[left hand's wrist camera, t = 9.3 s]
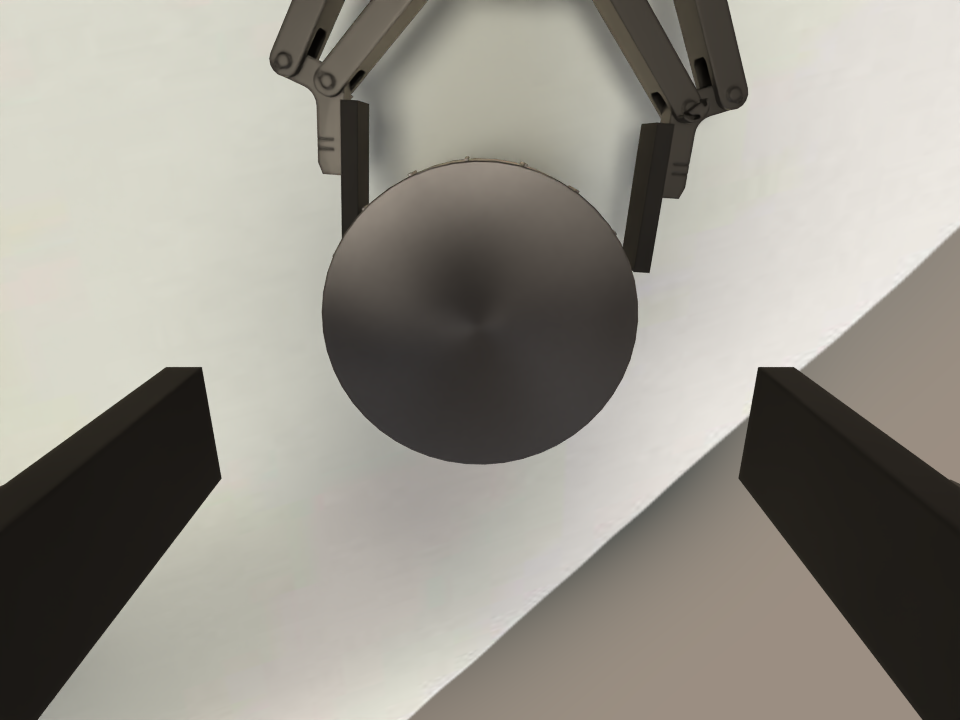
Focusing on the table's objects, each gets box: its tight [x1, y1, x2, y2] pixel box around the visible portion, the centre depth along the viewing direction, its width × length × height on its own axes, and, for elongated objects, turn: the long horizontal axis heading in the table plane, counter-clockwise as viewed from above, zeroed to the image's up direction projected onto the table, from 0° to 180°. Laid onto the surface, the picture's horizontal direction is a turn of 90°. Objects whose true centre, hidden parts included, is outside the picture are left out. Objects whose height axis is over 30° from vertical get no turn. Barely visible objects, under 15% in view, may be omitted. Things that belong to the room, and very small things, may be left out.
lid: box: [322, 156, 638, 464], centre depth 21 cm, size 10×11×2 cm
